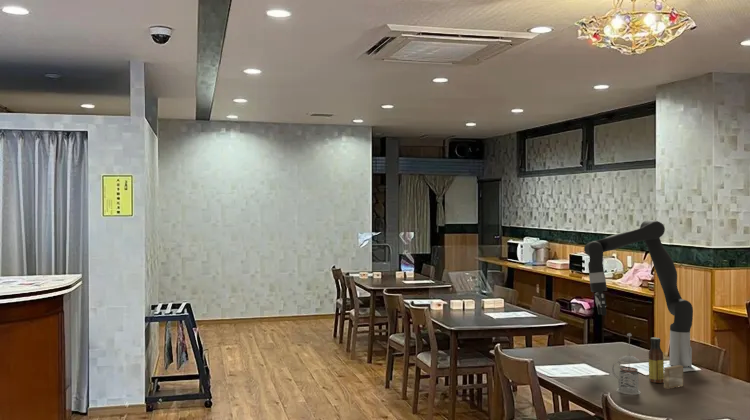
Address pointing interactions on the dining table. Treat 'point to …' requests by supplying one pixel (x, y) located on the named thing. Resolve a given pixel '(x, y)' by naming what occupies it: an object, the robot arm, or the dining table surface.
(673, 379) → the tile
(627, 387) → the french press
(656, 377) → the sauce bottle
